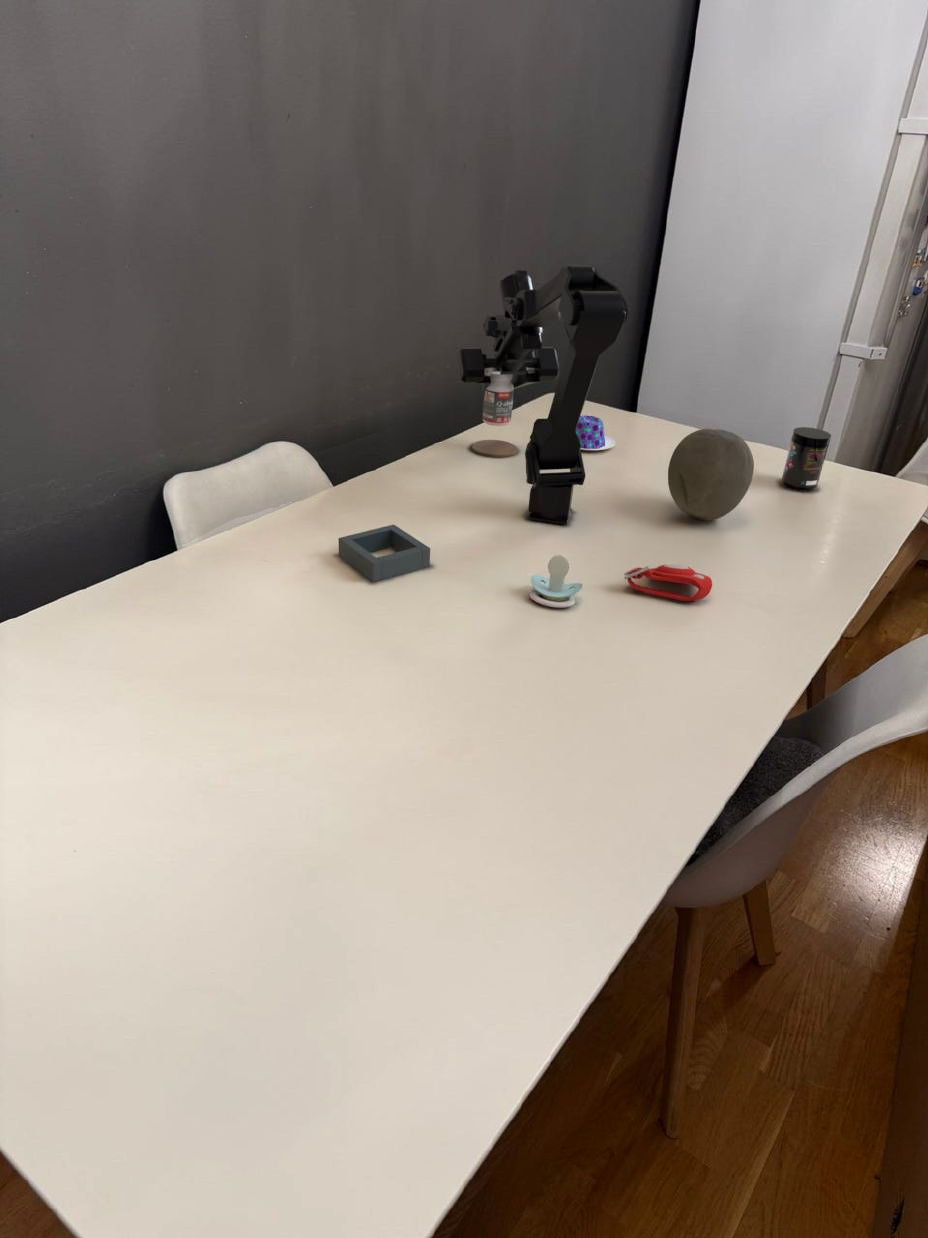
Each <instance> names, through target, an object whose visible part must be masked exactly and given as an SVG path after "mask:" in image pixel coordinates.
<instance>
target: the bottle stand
mask: <svg viewBox="0 0 928 1238" xmlns="http://www.w3.org/2000/svg"><path fill="white" fill-rule="evenodd" d="M337 540H338V557H339V558H341V559H342V560H343V561H345V562H346V563H347V564H349V566H351V567H352V568H354V569H355V570H357V571H358V572H359V573H361V575H363V576H364V577H366V578H367V579H369V580H370V581H371V582H372V583H377V582H379V581H383V580H386V579H390V578H393V577H397V576H401V575H404V574H408V573H411V572H415V571H418V570H421V569H426V568H428V567H430V565H431V548H430V546H428V545H426V543H423V542H421V541H420V540H419V539H417V538H415V537H414V536H412V535H411V534H409V533H408V532H406V531H405V530H403V529H402V528H400V527H398V526H397V525H396V524H389V525H386V526H382V527H378V528H374V529H369V530H365V531H361V532H357V533H353V534H348V535H344V536H341V537H338V539H337ZM389 548H392V549H393V550H394V551H396V552H392V553H389V554H385V555H382V556H378V557H377V556H375V555H374V554H372V553H374V552H378V551H382V550H385V549H389Z"/></svg>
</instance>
